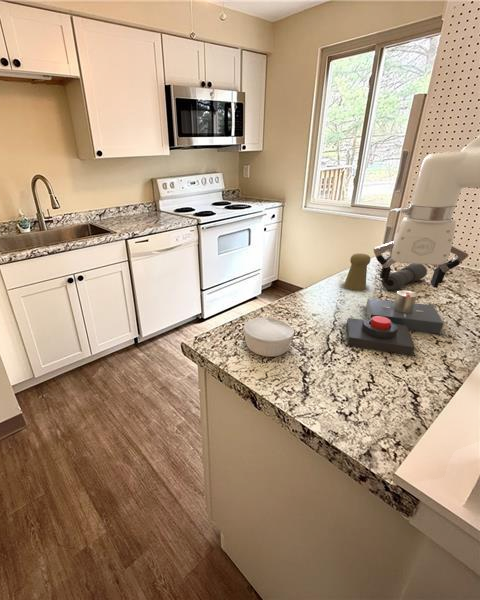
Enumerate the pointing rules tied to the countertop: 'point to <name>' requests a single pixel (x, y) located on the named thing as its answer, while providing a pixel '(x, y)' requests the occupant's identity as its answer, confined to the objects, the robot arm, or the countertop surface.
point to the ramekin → (268, 336)
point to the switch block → (379, 336)
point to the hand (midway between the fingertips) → (408, 283)
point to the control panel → (407, 315)
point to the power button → (380, 322)
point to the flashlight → (405, 276)
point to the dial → (404, 301)
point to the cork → (357, 272)
